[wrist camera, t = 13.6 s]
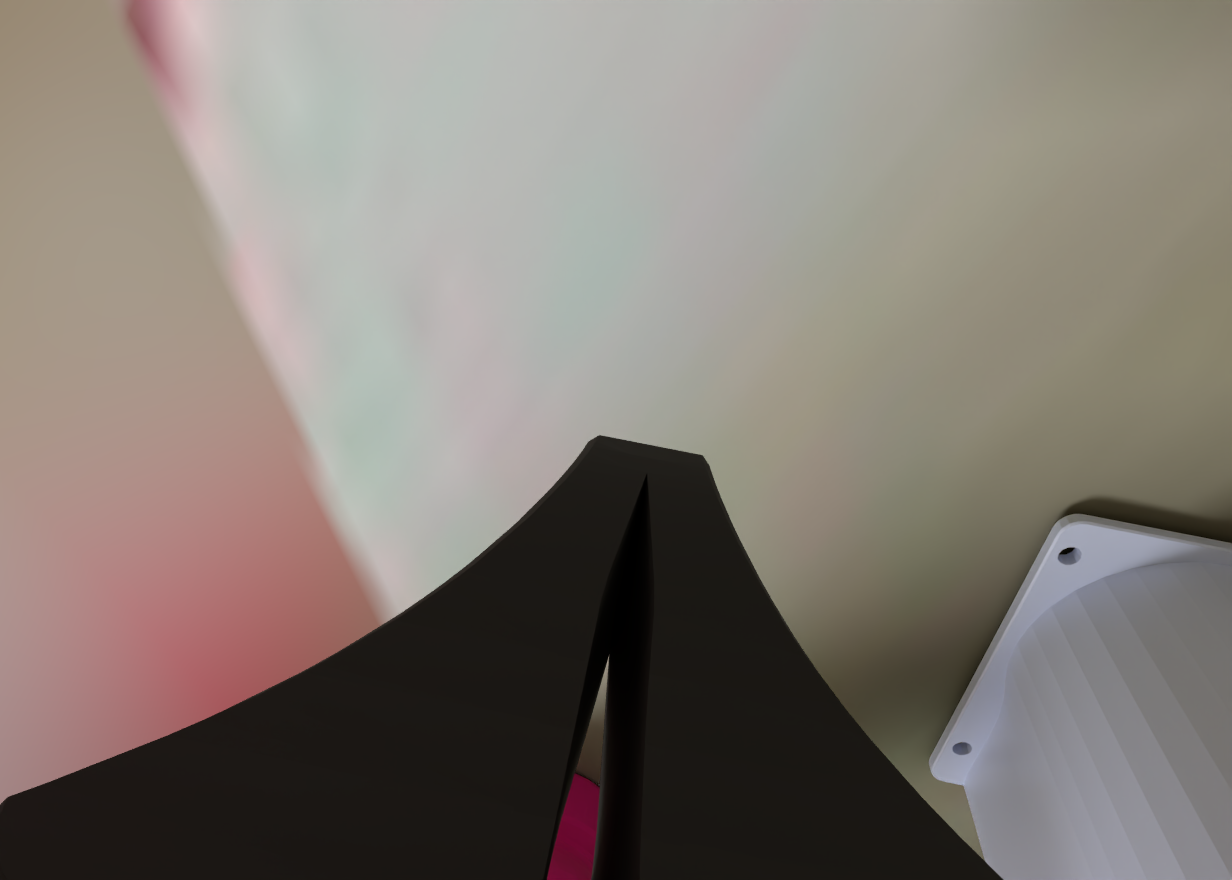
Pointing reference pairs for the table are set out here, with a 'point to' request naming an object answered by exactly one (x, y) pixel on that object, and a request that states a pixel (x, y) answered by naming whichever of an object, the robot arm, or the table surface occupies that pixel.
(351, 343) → the table surface
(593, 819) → the pepper mill
